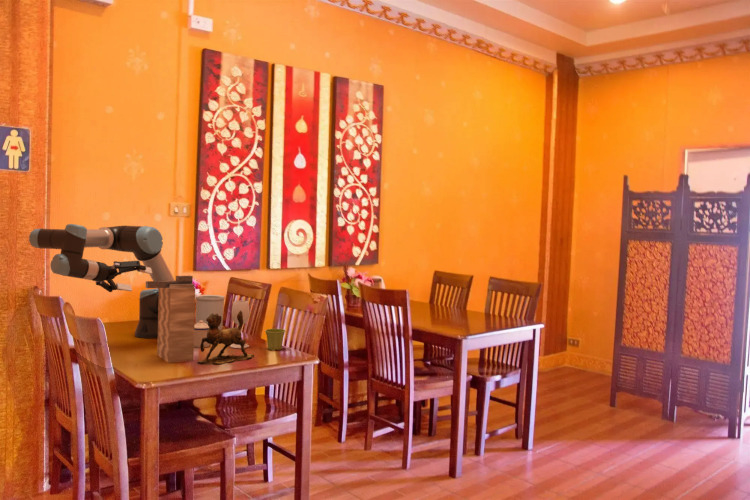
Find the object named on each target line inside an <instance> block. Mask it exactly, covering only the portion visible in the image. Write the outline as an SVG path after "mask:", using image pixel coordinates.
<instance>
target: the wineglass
mask: <svg viewBox="0 0 750 500" xmlns="http://www.w3.org/2000/svg"><path fill="white" fill-rule="evenodd" d="M240 311H242V313H243V314H242V315H243V325H245V324H246V323H247V322H248V321H249V319H250V311H251V310H250V303H249V300H234V301H233V302H232V306H231V319H232V321H233V323H234V324H236V325H237V327H239V321H238V320H237V315H238V313H239V312H240ZM240 332H241V333H242V329H241V330H240ZM229 347H230V348H234V349H241V345H236V344H234V343H233V344H231V345H230V346H229ZM249 347H250V345H249V344H247V343H245V344H244V349H246V348H249Z"/></svg>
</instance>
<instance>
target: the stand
mask: <svg viewBox="0 0 750 500" xmlns="http://www.w3.org/2000/svg"><path fill="white" fill-rule="evenodd" d="M195 322H196V287H195V283H192V284H169V288H159V303H158V338H157V343H156V345H157V350H156V351H157V352H156V354H157V355H156V356H158V357H160V358H161V359H162V360H164V361H166V362H167V363H168V362H169V363H168V364H171V363H172V362H173V363H180V362H191V361H194V358H195V357H194V355H195V353H194V352H195V350H194V349H195V347H194V325H195Z"/></svg>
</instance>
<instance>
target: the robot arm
mask: <svg viewBox="0 0 750 500" xmlns="http://www.w3.org/2000/svg"><path fill="white" fill-rule="evenodd" d="M28 240H29V241H28V242H29V244H30V245H31V246H32V247H33V248H36V249H40V250H41V249H45V250H60V253H56V254H55V255H53V257H52V259H51V261H50V265H49V266H50V270H51V272H52V273H53V274H56V275H59V276H63V277H70V278H75V279H76V278H77V279H83V280H87V281H93V282H95V285H96V286H100V287H101V288H103V289H104V290H105V291H107V292H108V293H113V291H116V290H117V291H125V292H132V291H133V288H132V285H131V284H126V283H121V282H114V279H115V278H116V277H117V276H119V275H122V274H125V273H129V272H134V271H137V272H138V273H143V274H144V273H145V274H148V275H149V276H150V278H151V281H176V279H174V276H173V274H172V272H171V270H170V269H169V267H168V265H167V263H166V261H165V259H164V257H163V256H162V253H161V252H162V248H163V245H164V243H163V236H162V233H161V232H160V230H159V229H157V227H153V226H148V225H143V226H141V225H116V226H107V227H106V226H104V227H100V228H98V229H89V228H88V229H87V227H85V226H84V225H81V224H76V223H75V224H74V223H68V224H66V225H65V228H35V229H33V230H31V232H30V233H29V237H28ZM87 248H98V249H101V250H110V251H116V252H124V253H132V254H133V255H134V257H135V258H136V260H128V261H117V260H116V261H115V260H114V261H113V265H107V264H106V262H100V261H95V260H91V259H85V258H83V256H84V251H85V249H87ZM141 262H142V263H143V264H141ZM138 301H139V309H138V310H139V311H138V312H139V314H138V315H139V317H138V323H137V325H136V329H135V330H134V336H135V338H143V339H158V303H159V288H146V289H143V290H141V291H140V293H139V298H138Z"/></svg>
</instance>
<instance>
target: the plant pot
mask: <svg viewBox="0 0 750 500" xmlns="http://www.w3.org/2000/svg"><path fill="white" fill-rule="evenodd" d="M264 332H265V334H266V341H267V349H268V350H271V351H276V350H277V351H279V350H282V348H283V343H284V336H285V333H286V329H284V328H267V329H265V330H264Z"/></svg>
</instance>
